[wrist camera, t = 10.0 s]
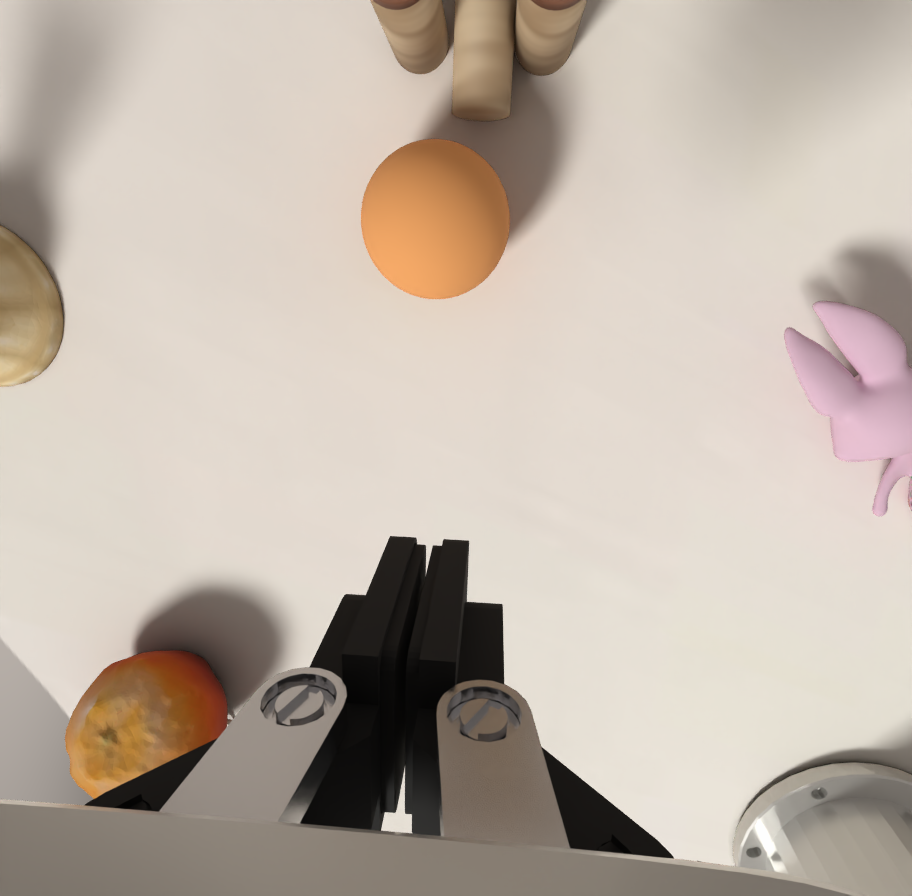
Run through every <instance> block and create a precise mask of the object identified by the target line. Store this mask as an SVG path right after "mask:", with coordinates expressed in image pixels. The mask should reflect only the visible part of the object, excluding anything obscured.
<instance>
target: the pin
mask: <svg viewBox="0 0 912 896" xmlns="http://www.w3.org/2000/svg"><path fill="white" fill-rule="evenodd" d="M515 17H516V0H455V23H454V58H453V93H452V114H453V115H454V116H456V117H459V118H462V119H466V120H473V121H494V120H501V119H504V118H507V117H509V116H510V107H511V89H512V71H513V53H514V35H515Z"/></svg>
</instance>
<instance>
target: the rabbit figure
mask: <svg viewBox="0 0 912 896" xmlns="http://www.w3.org/2000/svg"><path fill="white" fill-rule="evenodd" d="M813 309H814V311H815V312H816V314H817V315H818V317H819V318H820V319H821V321H822V323H823V325H824V326H825V328H826V330H827V332H828V333H829V335H830V336H831V338H832V339H833V340H834V342H835V343H836V345H837V346H838V347H839V349H840V350H841V352H842V353H843V354H844V356H845V357H846V358H847V360H848V361H849V362H850V363H851V365H852V366H853V367H854V368H855V370H856V371H857V372H858V373H859V375H857V376H856V377H853V375H852V374H851V373H850V372H849V371H848V370H847V369H846V368H845V367H844V366H843V365H842V364H841V363H840V362H839V361H838V360H837V359H836V358H835V357H834V356H833V355H832V354H831V353H830V352H829V351H828V350H826V349H825V348H824V347H822V346H821V345H819V344H818V343H816V342H814V341H813V340H811V339H809V338H807V337H806V336H804V335H802V334H801V333H799V332H798V331H796V330H795V329H793V328H790V327H789V328H787V329H786V330H785V333H784V339H785V344H786V348H787V351H788V353H789V356H790V359H791V361H792V364H793V367H794V369H795V372H796V374H797V377H798V379H799V382H800V384H801V386H802V388H803V389H804V391H805V393H806V395H807V397H808V400H809V402H810V403H811V405H812V406H813V408H814V409H815V410H816V411H817V412H818V413H820V414H821V415H824V416H829V417H830V423H831V435H832V442H833V450H834V454H835V456H836V457H837V458H838V459H839V460H842V461H848V462H860V461H872V460H881V459H889V458H892V459H891V461H890V463H889V465H888V467H887V468H886V470H885V472H884V474H883V476H882V479H881V481H880V483H879V486H878V489H877V492H876V495H875V499H874V503H873V513H874V514H875V515H876V516H883V515H884V514H885V513H886V512H887V501H888V496H889V494H890V491H891V489H892V488H893V486H894V484H895V483H896V482H897V481H898V480H899V479H900V478H902V477H904V476H909V477H910V483H909V495H908V503H909V507H910V509H911V511H912V368H911V367H909V365H908V364H907V349H906V345H905V342H904V340H903V338H902V337H901V335H900V334H899V333H898V332H897V331H896V330H895V329H894V328H893V327H892V326H891V325H890V324H888V323H887V322H886V321H884V320H883V319H882V318H880V317H879V316H877V315H875V314H873V313H871V312H869V311H866V310H863V309H860V308H857V307H853V306H850V305H845V304H841V303H837V302H830V301H818V302H816V303H814V304H813Z"/></svg>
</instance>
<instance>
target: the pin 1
mask: <svg viewBox="0 0 912 896" xmlns="http://www.w3.org/2000/svg"><path fill="white" fill-rule="evenodd" d="M370 1H371V3H372V5H373V8H374V10H375V12H376V14H377V17H378V19H379V21H380V23H381V26H382V28H383V30H384V32H385V35H386V37H387V39H388V41H389V44H390V46H391V48H392V50H393V53H394V55H395V57H396V59H397V61H398V62H399V63H400V65H401V66H402V67H403V68H405V69H406V70H407V71H409V72H412V73H415V74H425V73H429V72H431V71H433V70H435V69H436V68H437V67H438V66H439V65H440V64H441V63H442V61H443V60H444V58H445V56H446V53H447V50H448V44H449V37H448V31H447V25H446V20H445V15H444V9H443V4H442V0H370Z"/></svg>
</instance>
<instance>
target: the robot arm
mask: <svg viewBox="0 0 912 896" xmlns="http://www.w3.org/2000/svg"><path fill="white" fill-rule="evenodd" d="M468 556H469V541H464V540H447V539H444V540H443V544H442V546H434V545H433V548H432V552H431V556H430V560H429V565H428V569H427V573H426V545H417V539H416V538H413V537H396V536H390V538H389V540H388V543H387V545H386V547H385V550H384V552H383V555H382V557H381V560H380V562H379V565H378V567H377V569H376V572H375V574H374V577H373V579H372V582H371V584H370V586H369V589H368V591H367V594H366V595H353V594H346V595H344V597H343V599H342V601H341V603H340V605H339V607H338V609H337V611H336V613H335V615H334V617H333V619H332V621H331V623H330V626H329V628H328V630H327V632H326V634H325V636H324V638H323V640H322V642H321V644H320V646H319V649H318V651H317V653H316V655H315V657H314V659H313V661H312V663H311V665H310V667H305V668H297V669H291V670H288V671H286V672H283V673H280V674H277V675H276V676H274V677H272V678H271V679H269V680H267V681H266V682H265V683H264V684H263V685H261V686H260V687H259V688H258V689H257V690H256V691H255V693H254V694H253V695H252V696H251V698H250V699H249V700H248V701H247V703H246V704H245V705H244V706H243V708H242V709H241V710H240V711H239V713H238V714H237V715H236V716H235V718H234V719H233V720H232V721H231V723H230V724H229V725H228V726H227V728H226V729H225V730H224V731H223V733H222V734H221V735H220V736H219V737H218V738H216V739H214V740H212V741H210V742H208V743H206V744H204V745H202V746H200V747H198V748H196V749H194V750H192V751H190V752H188V753H185V754H183V755H181V756H179V757H177V758H175V759H173V760H171V761H169V762H167V763H165V764H163V765H161V766H159V767H157V768H154V769H152V770H150V771H148V772H146V773H144V774H142V775H140V776H138V777H136V778H134V779H132V780H130V781H128V782H126V783H124V784H121V785H119V786H117V787H115V788H113V789H111V790H109V791H107V792H105V793H103V794H102V795H100V796H98V797H97V798H95V799H93V800H92V801H90V802H88V803H87V804H85V805H84V806H82V805H71V804H70V805H69V804H57V803H44V802H32V801H19V800H7V799H0V896H912V775H911V774H908V773H906V772H904V771H901V770H899V769H896V768H892V767H887V766H883V765H879V764H870V763H857V762H852V763H837V764H829V765H824V766H820V767H815V768H811V769H808V770H805V771H802V772H800V773H797V774H794V775H791V776H789V777H788V778H786V779H784V780H782V781H780V782H779V783H777V784H775V785H773V786H772V787H771V788H769V789H768V790H767V791H765V792H764V793H763V794H762V795H760V796H759V797H758V798H757V799H756V800H755V801H754V803H753V804H752V805H751V806H750V807H749V808H748V809H747V810H746V812H745V814H744V815H743V817H742V819H741V821H740V822H739V824H738V826H737V829H736V833H735V836H734V840H733V859H734V863H735V866H728V865H721V864H713V863H706V862H700V861H691V860H684V859H674V857H673V856H672V855H671V854H670V853H669V851H668V850H667V849H666V848H665V847H664V846H663V845H662V844H661V843H660V842H659V841H658V840H656V839H655V838H654V837H653V836H651V835H650V834H649V833H648V832H646V831H645V830H644V829H643V828H641V827H640V826H639V825H638V824H636V823H635V822H634V821H633V820H632V819H630V818H629V817H628V816H627V815H625V814H624V813H623V812H622V811H620V810H619V809H618V808H617V807H615V806H614V805H613V804H612V803H610V802H609V801H608V800H607V799H605V798H604V797H603V796H602V795H600V794H599V793H598V792H597V791H596V790H594V789H593V788H592V787H591V786H589V785H588V784H587V783H586V782H584V781H583V780H582V779H581V778H579V777H578V776H577V775H576V774H574V773H573V772H572V771H571V770H569V769H568V768H567V767H566V766H564V765H563V764H562V763H561V762H560V761H558V760H557V759H556V758H555V757H553V756H552V755H551V754H550V753H548V752H547V751H546V750H545V749H543V748H542V747H541V744H540V740H539V737H538V733H537V730H536V726H535V723H534V719H533V716H532V712H531V709H530V707H529V705H528V703H527V701H526V700H525V699H524V698H523V697H522V696H521V695H520V694H519V693H518V692H517V691H516V690H514V689H512V688H510V687H509V686H507V685H505V684H504V651H503V606H502V604H491V603H476V602H467V580H468ZM404 768H405V814H412V833H413V834H411V833H400V832H389V831H381V827H382V822H383V817H384V813H385V812H392V813H395V812H396V810H397V805H398V800H399V794H400V789H401V784H402V778H403V773H404Z"/></svg>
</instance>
